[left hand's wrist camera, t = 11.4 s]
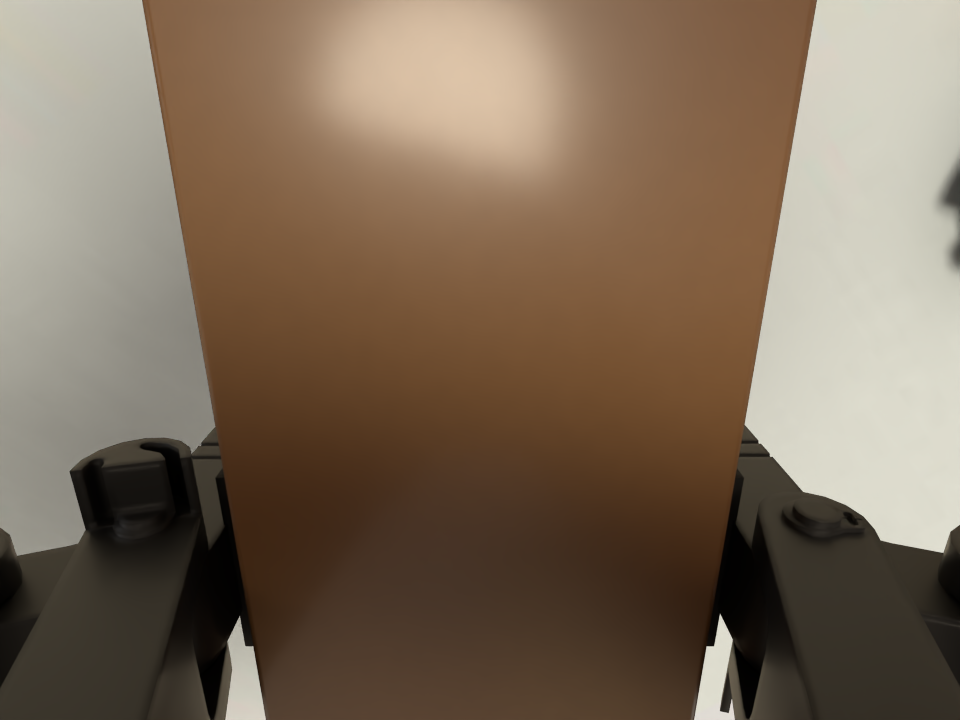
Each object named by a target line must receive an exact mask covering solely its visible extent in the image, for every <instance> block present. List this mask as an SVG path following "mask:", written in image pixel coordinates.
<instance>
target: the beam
mask: <svg viewBox="0 0 960 720" xmlns="http://www.w3.org/2000/svg"><path fill="white" fill-rule="evenodd" d="M142 2H143V8H144V14H145V20H146V25H147V31H148V37H149V43H150V49H151V54H152V60H153V66H154V72H155V78H156V83H157V89H158V95H159V101H160V107H161V112H162V118H163V124H164V130H165V136H166V141H167V147H168V153H169V159H170V165H171V170H172V176H173V182H174V188H175V194H176V200H177V205H178V211H179V217H180V223H181V229H182V234H183V240H184V246H185V252H186V258H187V263H188V269H189V275H190V281H191V287H192V292H193V298H194V304H195V310H196V316H197V321H198V327H199V333H200V339H201V345H202V350H203V356H204V362H205V368H206V374H207V379H208V385H209V391H210V397H211V403H212V408H213V414H214V420H215V426H216V432H217V437H218V443H219V449H220V455H221V461H222V467H223V472H224V478H225V484H226V490H227V496H228V501H229V507H230V513H231V519H232V525H233V530H234V536H235V542H236V548H237V554H238V559H239V565H240V571H241V577H242V583H243V588H244V594H245V600H246V606H247V612H248V617H249V623H250V629H251V635H252V641H253V646H254V652H255V658H256V664H257V670H258V675H259V681H260V687H261V693H262V699H263V705H264V710H265V716H266V720H694V716H695V710H696V705H697V699H698V693H699V687H700V681H701V675H702V670H703V664H704V658H705V652H706V646H707V640H708V634H709V629H710V623H711V617H712V611H713V605H714V599H715V593H716V588H717V582H718V576H719V570H720V564H721V558H722V552H723V547H724V541H725V535H726V529H727V523H728V517H729V511H730V506H731V500H732V494H733V488H734V482H735V476H736V470H737V465H738V459H739V453H740V447H741V441H742V435H743V430H744V424H745V418H746V412H747V406H748V400H749V394H750V389H751V383H752V377H753V371H754V365H755V359H756V353H757V348H758V342H759V336H760V330H761V324H762V318H763V312H764V307H765V301H766V295H767V289H768V283H769V277H770V271H771V266H772V260H773V254H774V248H775V242H776V236H777V231H778V225H779V219H780V213H781V207H782V201H783V195H784V190H785V184H786V178H787V172H788V166H789V160H790V154H791V149H792V143H793V137H794V131H795V125H796V119H797V113H798V108H799V102H800V96H801V90H802V84H803V78H804V72H805V67H806V61H807V55H808V49H809V43H810V37H811V31H812V26H813V20H814V14H815V8H816V2H817V0H142Z"/></svg>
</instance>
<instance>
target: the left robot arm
mask: <svg viewBox="0 0 960 720" xmlns="http://www.w3.org/2000/svg"><path fill="white" fill-rule="evenodd" d="M201 444H202V445H201V446H198V448H197V449H196V450H195V451H194V452H193V453H192V454H191V450H190V447H189V446H187V445H186V444H184V443H183V442H182V441H178V440H173V439H168V438H144V439H139V440H133V441H128V442H123V443H119V444H116V445H114V446H111V447H108V448H105V449H102V450H99V451H97V452H96V453H94V454H92V455H90V456H88V457H86V458H84V459H83V460H81V461H80V462H79V463H78V464H77V465H76V466H75V467H74V468H73V469H72V470H70V475H71V478H72V482H73V485H74V489H75V493H76V496H77V500H78V503H79V507H80V511H81V514H82V518H83V522H84V525H85V529H86V531H85V532H84V534H83V536H82V538H81V540H80V542H79V543H78V544H75V545H71V546H67V547H61V548H56V549H51V550H46V551H41V552H35V553H30V554H25V555H20V556H17V555H16V552H15V549H14V546H13V543H12V540H11V537H10V535H9V534H8V533H6V532H5V531H4V530H2V529H1V528H0V720H225V717H226V710H227V703H228V695H229V688H230V681H231V673H232V666H231V658H230V652H229V647H228V642H227V641H228V639H229V637H230V635H231V633H232V631H233V628H234V626H235V624H236V622H237V620H238V618H239V616H240V618H241V624H242V630H243V635H244V641H245V646H253V641H252V635H251V629H250V623H249V617H248V612H247V606H246V600H245V594H244V588H243V583H242V577H241V571H240V565H239V559H238V554H237V548H236V542H235V536H234V530H233V525H232V519H231V513H230V507H229V501H228V496H227V490H226V484H225V478H224V472H223V467H222V461H221V455H220V449H219V443H218V437H217V432H216V427H215V428H214V429H213V430H212V431H211V432H210V434H209V435H208V436H207V437H206V438H205V439H204V441H203V442H202V443H201ZM720 614H721V616H722V618H723V620H724V622H725V624H726V626H727V628H728V630H729V632H730V634H731V637H732V639H733V642H732V647H731V652H730V658H729V663H728V668H727V673H726V678H725V684H724V689H723V694H722V700H721V707H720V711H722V712H727V713H729V709H730V704H731V699H732V701H733V708H734V716H735V720H960V525H959V526H958V527H956V528H955V529H954V530H952V531H951V532H950V535H949V538H948V541H947V544H946V547H945V550H944V553H940V552H935V551H929V550H924V549H919V548H914V547H908V546H903V545H898V544H892V543H888V542H884V541H881V540H880V539H879V537H878V535H877V533H876V531H875V529H874V528H873V527H872V526H871V525H870V524H869V522H868V521H867V520H866V519H865V518H864V517H863V516H862V515H860V514H859V513H857V512H856V511H854V510H852V509H851V508H849V507H848V506H846V505H844V504H841V503H839V502H836V501H834V500H832V499H829V498H827V497H823V496H819V495H814V494H810V493H805V492H803V491H802V490H801V489H800V488H799V487H798V486H797V485H796V483H795V482H794V481H793V480H792V479H791V478H790V476H789V475H788V474H787V473H786V472H785V471H784V470H783V468H782V467H781V466H780V465H779V464H778V463H777V462H776V460H775V459H774V458H773V457H770V454H769V452H768V451H767V450H766V449H765V448H764V447H763V445H762V444H758V440H757V439H756V437H755V436H754V435H753V434H752V433H751V432H750V431H749V429H748V428H747V427H746V426H745V425H744V430H743V435H742V441H741V447H740V453H739V459H738V465H737V470H736V476H735V482H734V488H733V494H732V500H731V506H730V511H729V517H728V523H727V529H726V535H725V541H724V547H723V552H722V558H721V564H720V570H719V576H718V582H717V588H716V593H715V599H714V605H713V611H712V617H711V623H710V629H709V634H708V640H707V646H714V643H715V638H716V632H717V627H718V621H719V616H720Z"/></svg>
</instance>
